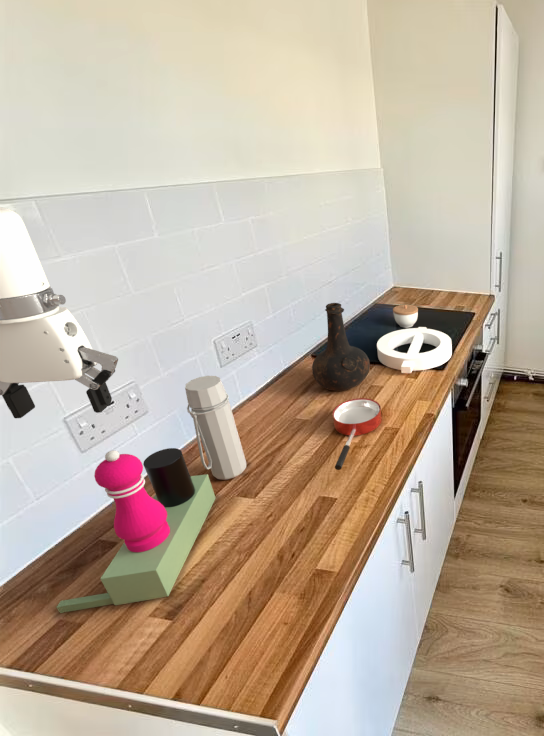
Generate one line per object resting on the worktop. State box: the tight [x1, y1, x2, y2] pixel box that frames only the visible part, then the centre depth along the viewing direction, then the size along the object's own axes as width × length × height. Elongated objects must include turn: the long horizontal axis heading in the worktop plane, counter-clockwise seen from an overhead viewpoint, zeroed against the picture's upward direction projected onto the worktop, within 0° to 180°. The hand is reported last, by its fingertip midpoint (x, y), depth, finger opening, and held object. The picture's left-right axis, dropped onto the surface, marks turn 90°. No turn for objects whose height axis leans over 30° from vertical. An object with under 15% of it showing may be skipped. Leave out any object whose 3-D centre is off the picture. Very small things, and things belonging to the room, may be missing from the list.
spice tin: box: [142, 447, 195, 507], centre depth 86 cm, size 6×6×10 cm
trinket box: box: [392, 304, 419, 329], centre depth 190 cm, size 11×11×9 cm
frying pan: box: [332, 397, 383, 471], centre depth 116 cm, size 32×13×6 cm, turn 14°
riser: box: [55, 473, 216, 614], centre depth 83 cm, size 16×24×7 cm, turn 14°
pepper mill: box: [93, 449, 170, 552], centre depth 74 cm, size 7×7×20 cm
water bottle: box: [184, 375, 247, 481], centre depth 99 cm, size 9×8×25 cm
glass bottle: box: [311, 302, 371, 392], centre depth 138 cm, size 18×18×28 cm
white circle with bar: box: [376, 326, 453, 374], centre depth 166 cm, size 28×28×5 cm
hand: (65, 410), depth 65 cm, fingers open, 9 cm apart
